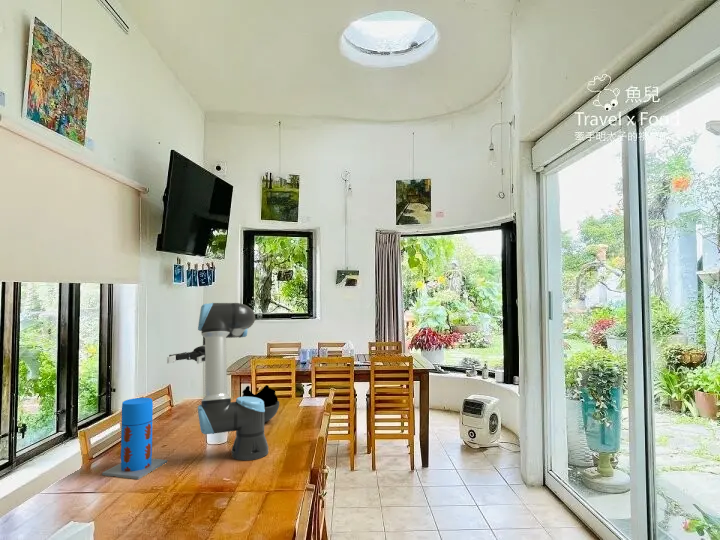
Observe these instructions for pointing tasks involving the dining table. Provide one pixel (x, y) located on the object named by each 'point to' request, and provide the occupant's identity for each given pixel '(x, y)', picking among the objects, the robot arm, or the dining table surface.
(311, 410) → the dining table surface
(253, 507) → the dining table surface
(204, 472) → the dining table surface
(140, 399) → the thermos
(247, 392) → the coal bowl
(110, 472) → the slate tile
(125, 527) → the dining table surface
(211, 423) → the robot arm
